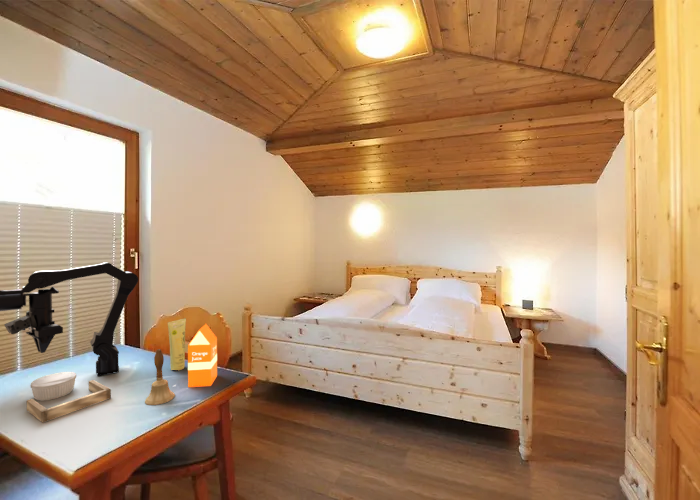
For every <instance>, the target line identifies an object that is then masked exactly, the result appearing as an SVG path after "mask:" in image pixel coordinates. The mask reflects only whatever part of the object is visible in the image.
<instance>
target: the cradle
mask: <svg viewBox="0 0 700 500" xmlns="http://www.w3.org/2000/svg"><path fill="white" fill-rule="evenodd" d="M88 391H90V392H92V393H90V394H86V395H84V396H81V397H78V398H75V399H72V400H69V401H66V402H64V403H60V404H57V405H54V406H52V407H48V408H46V407H45V406H43V405H42V404H40V403H39V402H37V400H36V399H34V398H30V399H27V400H26V411H27V412H28V411H29V412H28V413H29V414H31V415H33V416H34V417H35V418H36V419H38V421H40V422H41V423H46V422H49V421H52V420H54V419H58V418H60V417H62V416H65V415H69V414H70V413H74V412H76V411H78V410H81V409H85V408H87V407H90V406H93V405H96V404H99V403H100V402H103V401H106V400H110V399H111V398H112V389H111V388H110V387H108V386H106V385H104V384H102V383H100V382H98V381H96V380H94V379H92V380H89V381H88Z"/></svg>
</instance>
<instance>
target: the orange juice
mask: <svg viewBox="0 0 700 500" xmlns="http://www.w3.org/2000/svg"><path fill="white" fill-rule="evenodd" d="M217 377H218V337H217V335H216V334H214V332H213V331H212V329H211V328H210V327H209V325H208V324H207V323H205V324H204V325H202V327H200V328H199V329H198V331H197V332H196V334H195V335H194V336H193V338H192V339H191V340H190V342H189V343H188V345H187V380H188V381H187V382H188V383H187V387H188V388H196V387H197V388H198V387H211V386H212V385H213V383H214V381H215V380H216V378H217Z"/></svg>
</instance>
